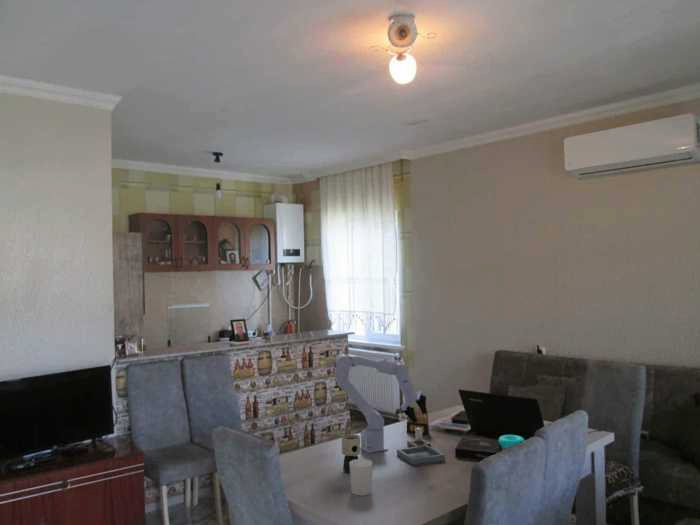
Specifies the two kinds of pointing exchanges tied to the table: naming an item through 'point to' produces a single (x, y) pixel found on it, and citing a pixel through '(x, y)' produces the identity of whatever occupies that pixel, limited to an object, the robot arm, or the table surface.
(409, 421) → the ammunition clip
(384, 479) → the table surface
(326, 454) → the table surface
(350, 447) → the character mug
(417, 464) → the tray
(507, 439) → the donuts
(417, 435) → the steel pin
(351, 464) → the white cup
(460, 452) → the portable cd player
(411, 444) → the pin block
